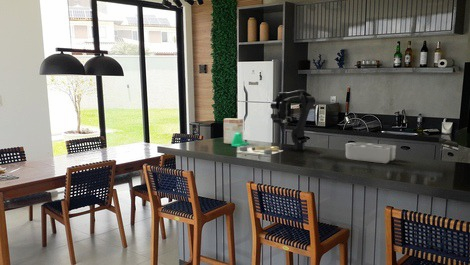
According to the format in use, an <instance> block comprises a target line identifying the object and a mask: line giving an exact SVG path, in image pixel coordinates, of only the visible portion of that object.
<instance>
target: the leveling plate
mask: <svg viewBox="0 0 470 265" xmlns="http://www.w3.org/2000/svg"><path fill="white" fill-rule="evenodd" d="M281 152H283V149H282V150H280V149H279V151H272V149H264V150H255V151H253V150H252V147H248V146H247V145H244V146H240V147H239V150H236V152H235V154H236V155H237V154H238V155H242V153H244V155H246V156H247V155H249V156H252V154H253V156H255V157H261V155H263V157H264V158H270V156H271V155H274V154H277V153H281ZM267 155H268V156H267Z"/></svg>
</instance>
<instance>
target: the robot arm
mask: <svg viewBox="0 0 470 265" xmlns="http://www.w3.org/2000/svg"><path fill="white" fill-rule="evenodd" d="M297 97H298V98H299V100H300V101H301V108H302V109H301V112H300V115H299V118H298V122H297V125H296V127H294V128H292V130H291V133H290V134H291V135H290V137H291V142H292V143H293V150H296V151H304V150H306V149H305V146H306V143H307V141H308V139H307V137H306V136H305V126H306V123H307V119H308V116H309V113H310V111H311V109H312V108H313V107H314V105H315V103H316V98H315V96H313V95H312V94H310V93H309V92H307V91H306V90H305V89H298V90H294V91H289V92H287V91H285V92H283V91H282V92H281V91H280V92H278V93H277V96H276V98H275V99H273V100H272V102H271V104H270V105H269V106H270V108H271V110H275V111H276V110H278V111H277V113H271V114H270V119H272V123H276V124H278V125H279V126H280V131H281V132H282V133H284V132H285V130H286V127H287V126H288V124H289V121H290V122H292V121H293V117H291V116H288V113H289V111H288V105H289V104H290V101H288V100H290V99H291V98H297Z"/></svg>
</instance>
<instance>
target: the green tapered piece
mask: <svg viewBox="0 0 470 265" xmlns="http://www.w3.org/2000/svg"><path fill="white" fill-rule="evenodd" d="M241 137H242V134H241V133H235V136H234V138H233V141H232V143H231V144H230V146H232V147H234V148H235V147H236V148H238V147H239V148H240V147H241V146H247V145H250V142H247V141H246V142H245V141H244V139H243V140H242V138H241Z"/></svg>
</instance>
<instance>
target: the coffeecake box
mask: <svg viewBox="0 0 470 265" xmlns="http://www.w3.org/2000/svg"><path fill="white" fill-rule="evenodd" d="M235 133H241V134H242V137H241V138H242V140H243V141H244V119H243V118H233V117H232V118H230V117H228V118H223V143H224V144H228V145H231V143H232V141H233V138H234V136H235Z"/></svg>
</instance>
